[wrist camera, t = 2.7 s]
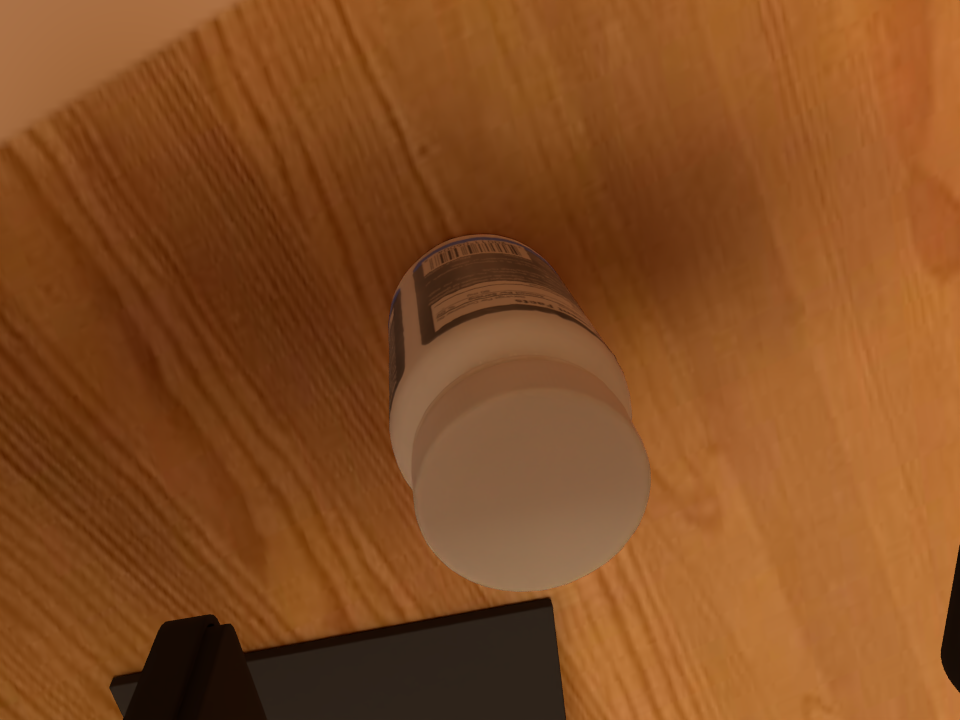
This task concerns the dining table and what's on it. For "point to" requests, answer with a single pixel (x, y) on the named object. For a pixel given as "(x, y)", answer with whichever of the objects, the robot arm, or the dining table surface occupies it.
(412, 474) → the pill bottle
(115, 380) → the dining table surface
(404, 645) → the slate mat
